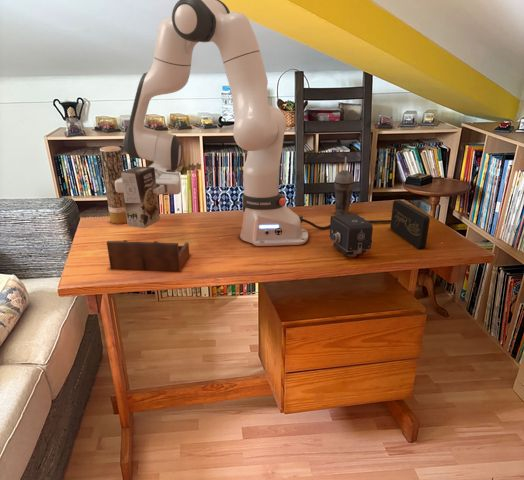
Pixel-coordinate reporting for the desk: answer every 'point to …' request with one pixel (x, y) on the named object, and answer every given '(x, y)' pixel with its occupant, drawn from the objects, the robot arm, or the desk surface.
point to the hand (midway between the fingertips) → (141, 192)
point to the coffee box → (140, 196)
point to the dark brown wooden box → (147, 255)
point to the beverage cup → (343, 190)
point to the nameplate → (409, 223)
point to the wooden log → (113, 182)
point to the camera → (351, 233)
